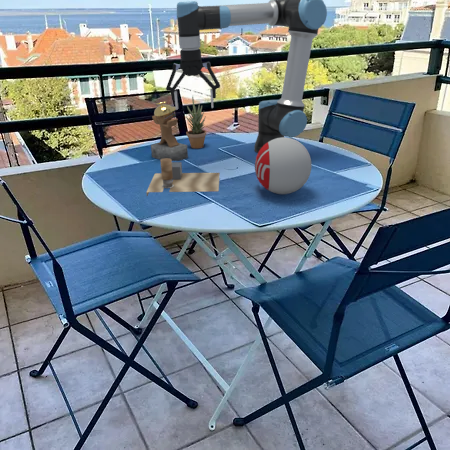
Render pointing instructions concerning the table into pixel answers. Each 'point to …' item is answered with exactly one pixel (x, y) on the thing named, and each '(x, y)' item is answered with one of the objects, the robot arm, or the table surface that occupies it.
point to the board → (187, 183)
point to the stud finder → (176, 170)
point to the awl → (166, 172)
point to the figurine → (167, 135)
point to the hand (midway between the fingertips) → (194, 108)
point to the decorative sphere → (283, 165)
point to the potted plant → (196, 128)
